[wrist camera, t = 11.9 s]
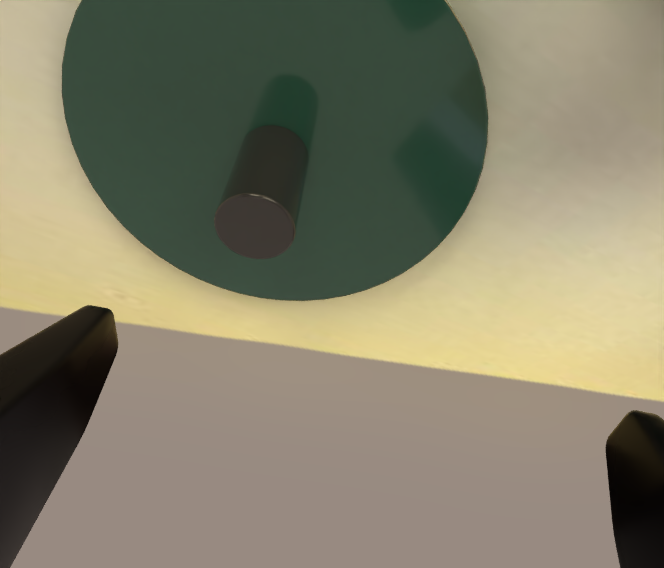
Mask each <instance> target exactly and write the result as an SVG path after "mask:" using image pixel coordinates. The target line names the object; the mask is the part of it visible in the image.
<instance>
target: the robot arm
mask: <svg viewBox="0 0 664 568" xmlns="http://www.w3.org/2000/svg"><path fill="white" fill-rule="evenodd" d="M117 349H118V338H117V332H116V326H115V320H114V315H113V312H112V311H111V310H110V309H108V308H102V307H97V306H92V305H87V306H84V307H82V308H80V309H79V310H77V311H75V312H73V313H72V314H70V315H68V316H67V317H65V318H63V319H61V320H60V321H58V322H56V323H54V324H53V325H51V326H49V327H48V328H46V329H44V330H42V331H41V332H39V333H37V334H35V335H34V336H32V337H30V338H28V339H27V340H25V341H23V342H22V343H20V344H18V345H16V346H15V347H13V348H11V349H9V350H8V351H6V352H4V353H3V354H1V355H0V568H10V567H11V565H12V563H13V561H14V559H15V558H16V556H17V554H18V552H19V550H20V549H21V547H22V545H23V543H24V541H25V539H26V538H27V536H28V534H29V532H30V530H31V528H32V527H33V525H34V523H35V521H36V520H37V518H38V516H39V514H40V512H41V510H42V509H43V507H44V505H45V503H46V501H47V499H48V498H49V496H50V494H51V492H52V490H53V489H54V487H55V485H56V483H57V481H58V479H59V477H60V476H61V474H62V472H63V470H64V469H65V467H66V465H67V463H68V461H69V459H70V458H71V456H72V454H73V452H74V450H75V448H76V447H77V445H78V443H79V441H80V439H81V437H82V435H83V433H84V431H85V429H86V427H87V424H88V422H89V420H90V417H91V415H92V412H93V410H94V407H95V405H96V403H97V400H98V398H99V395H100V393H101V390H102V388H103V386H104V383H105V381H106V378H107V376H108V373H109V371H110V368H111V366H112V364H113V361H114V358H115V356H116V353H117ZM606 459H607V469H608V480H609V491H610V501H611V512H612V522H613V530H614V537H615V543H616V548H617V553H618V558H619V563H620V568H664V420H663V419H662V418H660V417H659V416H658V415H656V414H652V413H647V412H642V411H637V410H633V411H631V412H629V413H628V414H627V415H626V416H625V417H624V418H623V419H622V421H621V422H620V423H619V424H618V426H617V427H616V428H615V429H614V430H613V432H612V433H611V434H610V436H609V437H608V440H607V443H606Z"/></svg>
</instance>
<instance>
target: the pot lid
mask: <svg viewBox="0 0 664 568" xmlns="http://www.w3.org/2000/svg"><path fill="white" fill-rule="evenodd" d="M62 98H63V105H64V113H65V119H66V123H67V127H68V131H69V134H70V138H71V142H72V145H73V147H74V150H75V152H76V154H77V157H78V159H79V162H80V164H81V167H82V168H83V170H84V172H85V174H86V176H87V177H88V179H89V181H90V183H91V185H92V186H93V188H94V190H95V191H96V193H97V194H98V195H99V197H100V198H101V200H102V201H103V202H104V204H105V205H106V207H107V208H108V209H109V210H110V212H111V213H112V214H113V215H114V216H115V217H116V218H117V220H118V221H119V222H120V223H121V224H122V225H123V226H124V227H125V228H126V229H127V230H128V231H129V232H130V233H131V234H132V235H133V236H134V237H135V238H137V239H138V240H139V241H140V242H141V243H142V244H143V245H145V246H146V247H147V248H149V249H150V250H151V251H153V252H154V253H155V254H156V255H158V256H159V257H161V258H162V259H164V260H165V261H167V262H169V263H170V264H172V265H173V266H175V267H176V268H178V269H180V270H182V271H184V272H186V273H188V274H190V275H192V276H194V277H196V278H198V279H200V280H202V281H205V282H207V283H210V284H212V285H215V286H217V287H220V288H223V289H227V290H230V291H233V292H236V293H240V294H245V295H249V296H254V297H259V298H266V299H275V300H289V301H308V300H322V299H329V298H335V297H341V296H346V295H350V294H353V293H357V292H361V291H364V290H367V289H370V288H372V287H375V286H377V285H380V284H383V283H385V282H387V281H389V280H391V279H393V278H395V277H396V276H398V275H400V274H402V273H404V272H405V271H407V270H408V269H410V268H411V267H413V266H414V265H416V264H417V263H419V262H420V261H421V260H423V259H424V258H425V257H426V256H427V255H428V254H430V253H431V252H432V251H433V250H434V249H435V248H436V247H437V246H438V245H439V244H440V243H441V242H442V241H443V240H444V239H445V238H446V236H447V235H448V234H449V233H450V232H451V231H452V229H453V228H454V227H455V225H456V224H457V222H458V221H459V219H460V218H461V216H462V215H463V213H464V212H465V210H466V208H467V206H468V204H469V202H470V200H471V198H472V196H473V194H474V192H475V190H476V187H477V184H478V181H479V178H480V175H481V172H482V169H483V164H484V159H485V153H486V147H487V138H488V110H487V102H486V93H485V87H484V83H483V79H482V76H481V72H480V68H479V64H478V61H477V58H476V55H475V53H474V50H473V48H472V46H471V43H470V41H469V39H468V36H467V34H466V32H465V30H464V27H463V26H462V24H461V23H460V21H459V19H458V18H457V16H456V14H455V13H454V11H453V10H452V8H451V6H450V5H449V3H448V2H447V0H82V1H81V3H80V4H79V6H78V8H77V10H76V12H75V15H74V18H73V21H72V24H71V27H70V30H69V33H68V36H67V39H66V45H65V51H64V57H63V63H62Z"/></svg>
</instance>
